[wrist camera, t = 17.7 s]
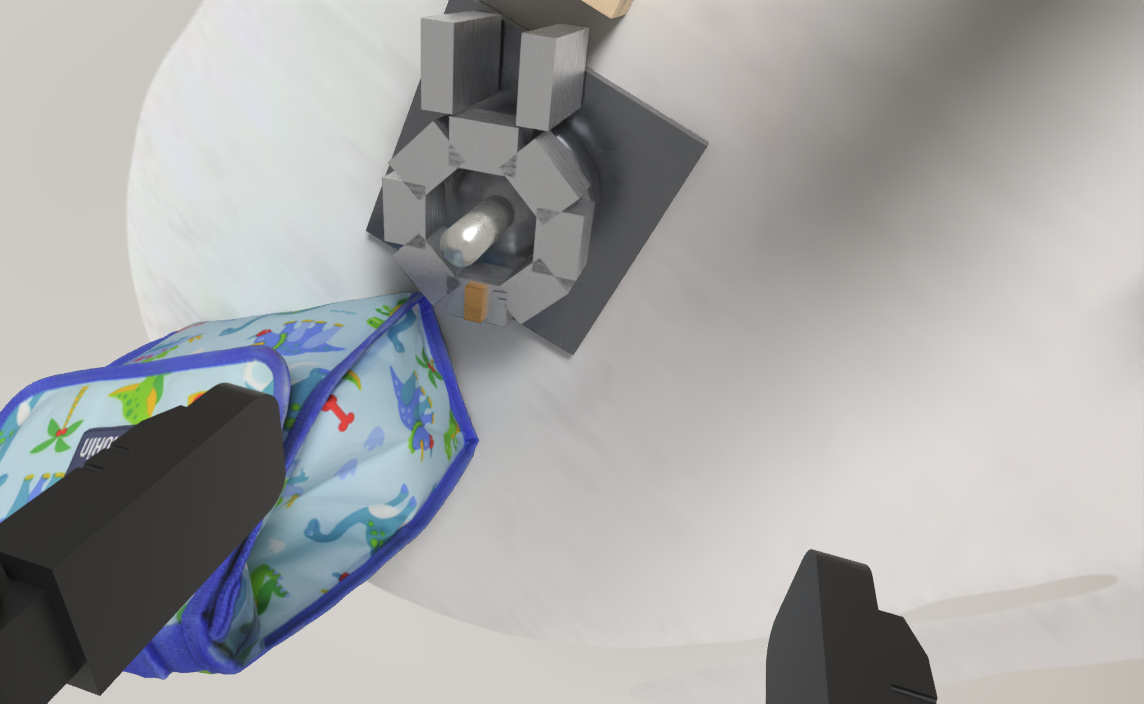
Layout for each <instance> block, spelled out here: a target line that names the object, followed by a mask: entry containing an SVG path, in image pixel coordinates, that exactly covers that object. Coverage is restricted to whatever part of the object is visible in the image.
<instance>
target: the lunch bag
mask: <svg viewBox="0 0 1144 704" xmlns="http://www.w3.org/2000/svg"><path fill="white" fill-rule="evenodd" d="M224 382H226V383H231V384H235V385H238V386H242V387H245V388H249V389H252V390H256V391H260V392H263V393H267V394H270V395H273V396H274V397H275V398H276V400H277V402H278V404H279V410H280V420H281V429H282V439H283V448H284V458H285V467H286V477H285V482H284V486H283V489H282V492H281V494H280V496H279V499H278V500H277V502H276V504H275V505H274V507H273V508H272V509H271V511H270V512H269V513H268V514H267V515H266V516H265V517H264V518H263V519H262V521H261V522H260V523H259V524H258V525H257V526H256V527H255V528H254V529H253V530H252V531H251V532H250V534H249V535H248V536H247V537H246V538H245V539H244V540H243V541H242V542H241V543H240V544H239V546H238V547H237V548H236V549H235V550H234V551H233V552H232V553H231V554H230V555H229V556H228V557H227V559H226V560H225V561H224V562H223V563H222V564H221V565H220V566H219V567H218V568H217V569H216V571H215V572H214V573H213V574H212V575H211V576H210V577H209V578H208V579H207V580H206V581H205V582H204V584H203V585H202V586H201V587H200V588H199V589H198V590H197V591H196V592H195V593H194V594H193V596H192V597H191V598H190V599H189V600H188V601H187V602H186V603H185V604H184V605H183V606H182V607H181V609H180V610H179V611H178V612H177V613H176V614H175V615H174V616H173V617H172V618H171V619H170V621H169V622H168V623H167V624H166V625H165V626H164V627H163V628H162V629H161V630H160V631H159V632H158V634H157V635H156V636H155V637H154V638H153V639H152V640H151V641H150V642H149V643H148V644H147V646H146V647H145V648H144V649H143V650H142V651H141V652H140V653H139V654H138V655H137V656H136V657H135V659H134V660H133V661H132V662H131V663H130V664H129V665H128V666H127V667H126V668H125V669H124V672H129V673H133V674H136V675H139V676H142V677H144V678H159V679H163V680H164V679H166V678H167V677H168V675H169V674H171V673H172V672H179V673H189V672H200V673H208V674H216V673H221V674H236V673H239V672H241V671H242V670H243V669H245V668H246V667H248V666H249V665H250V664H252V663H253V662H254V661H256V660H257V659H258V658H260V657H261V656H262V655H264V654H265V653H266V652H268V651H269V650H270V649H271V648H273V647H274V646H276V645H278V644H280V643H281V642H283V641H284V640H286V639H287V638H289V637H290V636H292V635H293V634H295V633H296V632H298V631H300V630H301V629H302V628H303V627H305V626H306V625H307V624H309V623H311V622H312V621H314V620H315V619H317V618H318V617H320V616H321V615H323V614H324V613H325V612H327V611H328V610H330V609H331V608H332V607H333V606H335V605H336V604H337V603H338V602H339V601H340V600H342V599H343V598H344V597H345V596H346V595H347V594H349V593H350V592H351V591H352V590H354V589H355V588H356V587H358V586H359V585H361V584H362V583H364V582H365V581H366V580H368V579H369V578H370V577H371V576H372V575H374V574H375V573H376V572H377V571H378V570H379V569H380V568H381V567H382V566H383V565H384V564H385V563H386V562H387V561H388V560H389V559H391V558H392V557H393V556H394V555H395V554H396V553H398V552H399V551H400V550H401V549H403V548H404V547H405V546H406V545H407V544H409V543H410V542H411V541H412V540H413V539H415V538H416V537H417V536H418V535H419V534H420V533H421V532H422V531H423V530H424V529H425V527H426V526H427V525H428V524H429V523H430V521H431V520H432V518H433V517H434V516H435V514H436V513H437V512H438V511H439V509H440V508H441V506H442V505H443V504H444V502H445V500H446V499H447V497H448V496H449V495H450V493H451V492H452V490H453V489H454V487H455V485H456V484H457V482H458V481H459V479H460V477H461V476H462V474H463V473H464V471H465V469H466V468H467V466H468V464H469V462H470V461H471V459H472V457H473V455H474V451H475V447H476V446H477V444H478V442H479V439H478V437H477V435H476V433H475V430H474V428H473V426H472V423H471V420H470V417H469V415H468V412H467V410H466V407H465V404H464V402H463V399H462V396H461V393H460V390H459V388H458V384H457V381H456V377H455V374H454V370H453V367H452V364H451V361H450V358H449V355H448V352H447V349H446V346H445V343H444V340H443V337H442V335H441V332H440V329H439V326H438V322H437V319H436V316H435V314H434V311H433V306H432V304H431V303H430V302H429V301H428V299H427V298H426V297H425V296H424V295H423V294H422V292H417V293H410V292H405V293H398V294H391V295H383V296H376V297H370V298H364V299H357V300H350V301H343V302H337V303H332V304H327V305H323V306H318V307H314V308H310V309H305V310H300V311H293V312H281V313H271V314H265V315H258V316H252V317H246V318H240V319H232V320H221V321H205V322H197V323H194V324H191V325H189V326H187V327H185V328H183V329H181V330H179V331H175V332H172V333H170V334H168V335H167V336H165V337H164V338H161V339H158V340H155V341H153V342H150V343H148V344H146V345H144V346H141V347H140V348H138V349H136V350H134V351H132V352H130V353H128V354H126V355H124V356H122V357H121V358H119V359H117V360H115V361H114V362H112V363H111V364H109V365H107V366H106V367H101V368H94V369H87V370H80V371H75V372H70V373H64V374H58V375H54V376H50V377H47V378H43V379H41V380H38V381H36V382H34V383H32V384H30V385H28V386H27V387H25V388H24V389H23V390H21V391H20V392H19V393H18V394H17V395H16V396H14V397H13V398H12V399H11V400H10V402H9V403H8V404H7V405H6V406H5V407H4V408H3V410H2V411H1V412H0V522H2V521H3V520H5V519H6V518H7V517H9V516H10V515H12V514H13V513H14V512H16V511H17V510H19V509H20V508H21V507H23V506H24V505H25V504H27V503H28V502H30V501H31V500H32V499H34V498H35V497H37V496H38V495H39V494H41V493H42V492H44V491H45V490H46V489H48V488H49V487H50V486H52V485H53V484H55V483H56V482H57V481H59V480H60V479H62V478H63V477H64V476H66V475H67V474H69V473H70V472H71V471H73V470H74V469H75V468H77V467H79V468H82V467H83V466H84V462H85V461H87V460H88V459H89V458H91V457H92V456H94V455H95V454H96V453H98V452H99V451H100V450H102V449H103V448H106V449H108V448H109V447H110V443H112V442H113V441H114V440H116V439H117V438H119V437H120V436H121V435H123V434H124V433H125V432H127V431H128V430H130V429H131V428H132V427H134V426H135V425H137V424H138V423H139V422H141V421H142V420H145V419H147V418H150V417H152V416H155V415H157V414H160V413H162V412H165V411H167V410H169V409H172V408H174V407H177V406H179V405H182V406H186V407H187V406H188V405H190V404H191V403H192V402H194V401H195V400H196V399H198V398H199V397H200V396H201V395H203V394H204V393H205V392H207V391H208V390H209V389H211V388H212V387H214V386H215V385H217V384H220V383H224Z"/></svg>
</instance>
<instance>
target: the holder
mask: <svg viewBox="0 0 1144 704" xmlns="http://www.w3.org/2000/svg"><path fill="white" fill-rule="evenodd" d="M582 1H583V2H585V3H586V4H588V5H590V6H591V7H593V8H594V9H596V10H598V11H599V12H601V13H602V14H604V15H606V16H607V17H609V18H610V19H612V18H616V17H619V16H622V15H625V14H626V13H627V11H628V9H629V7H630V5H631V3H632V1H633V0H582Z"/></svg>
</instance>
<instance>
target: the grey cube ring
mask: <svg viewBox="0 0 1144 704" xmlns="http://www.w3.org/2000/svg"><path fill="white" fill-rule="evenodd" d="M501 23H502V15H501V14H494V13H487V12H481V11H474V10H473V11H466V12H459V13H452V14H445V15H438V16H430V17H423V18H421V109H423V110H428V111H434V112H440V113H446V114H447V115H445V116H443V117H440V118H438V119H436V120H434V121H432V122H431V123H430V124H429V125H428V126H427V127H426V128H425V129H424V130H423V131H422V132H421V133H419V134H418V135H417V136H416V137H415V138H414V139H413V140H412V141H411V142H410V143H409V144H408V145H406V146H405V147H404V148H403V149H402V150H401V151H400V152H399V153H398V154H397V155H396V156H395V157H393V158H392V159H391V160H390V161H389V162H388V163H389V165H390V166H391V167H392V168H393V170H394V171H393V172H392V173H390V174H388V175H386V176H384V177H382V185H383V213H384V241H388V242H392V243H397V244H402V245H404V246H403V247H401V248H400V249H399V250H398V251H397V252H395V253H394V254H393V255H392V256H391V257H392V258H393V259H394V261H395V262H396V263H397V264H398V265H399V266H400V268H401V269H402V270H403V271H404V272H405V274H406V275H407V276H408V277H409V278H410V279H411V281H412V282H413V283H414V284H415V285H416V287H417V288H418V289H419V290H420V291H421V292H422V294H423V295H424V296H425V297H426V298H427V299H428V301H429V302H430V303H431V304H432V305H434V304H435V303H437V302H438V301H439V300H441V299H442V298H444V297H445V296H446V295H447V304H446V314H449V315H453V316H458V317H462V318H464V320H469V321H473V322H478V323H482V322H485V323H489V324H494V325H498V326H503V327H506V325H507V324H508V323H509V321H510V320H511V319H512V317H514V318H515V319H516V321H517V322H518V323H519V324H520V325H521V324H522V323H524V322H525V321H527V320H528V319H530V318H531V317H533V316H534V315H536V314H538V313H539V312H541V311H542V310H544V309H545V308H547V307H548V306H550V305H551V304H553V303H555V302H556V301H558V300H559V299H561V298H562V297H564V296H565V295H567V294H568V293H569V291H570V290H571V288H572V287H573V285H574V283H575V282H576V280H577V279H578V277H579V275H580V274H581V272H582V270H583V269H584V267H585V266H586V264H587V259H588V252H589V244H590V236H591V229H592V221H593V213H594V206H595V202H594V201H589V200H584V199H579V198H580V197H581V196H582V195H583V194H584V192H585V191H586V190H587V189H588V188H589V186H590V183H589V182H588V181H587V179H586V178H585V177H584V175H583V174H582V172H581V171H580V170H579V168H578V167H577V166H576V164H575V163H574V161H573V160H572V159H571V157H570V156H569V155H568V153H567V152H566V151H565V149H564V148H563V146H562V145H561V144H560V142H559V141H558V140H557V138H556V137H555V135H554V134H553V133H552V131H551V129H552V128H553V127H555V126H556V125H557V124H559V123H560V122H561V121H563V120H564V119H565V118H567V117H568V116H570V115H571V114H572V113H574V112H575V111H576V110H578V109H579V108H580V107H581V99H582V90H583V81H584V72H585V63H586V54H587V45H588V36H589V27H583V26H576V25H569V24H562V23H559V24H555V25H551V26H547V27H543V28H539V29H535V30H532V31H528V32H524V33H522V36H521V51H520V67H519V82H518V98H517V113H516V115H511V114H505V113H499V112H493V111H487V110H481V109H476V108H470V106H472V105H474V104H476V103H479V102H481V101H483V100H485V99H487V98H490V97H492V96H494V95H496V94H498V83H499V63H500V43H501ZM463 109H464V110H463ZM461 110H462V111H461ZM459 111H460V112H459ZM457 112H458V113H457ZM533 129H538V130H544V131H545V132H543V133H542V134H541V135H539V136H538V137H536V138H535V139H534V140H533V141H532V138H533ZM462 168H463V169H468V170H474V171H479V172H484V173H490V174H495V175H500V176H505V177H506V178H507V179H508V180H509V182H510V183H511V184H512V186H513V187H514V188H515V190H516V191H517V192H518V193H519V195H520V196H521V197H522V199H523V200H524V201H525V203H526V204H527V205H528V207H529V208H530V209H531V210H532V212H533V213H534V214H535V216H536V217H537V219H536V230H535V242H534V254H533V256H531V257H530V258H528V259H527V260H526V261H524V262H523V263H521V264H520V265H519V266H517V267H516V268H514V269H512V268H507V267H502V266H497V265H493V264H488V263H483V262H478V261H475V262H474V263H473V264H471V265H469V266H465V267H461V266H456V265H454V264H452V263H450V262H449V261H448V260H447V259H446V258H445V257H444V255H443V254H442V251H441V248H440V239H441V236H442V234H443V233H444V232H445V231H446V230H447V228H446V227H445V226H444V219H445V182H446V181H447V180H449V179H450V178H451V177H452V176H453V175H454V174H456V173H457V172H458V171H459V170H460V169H462Z"/></svg>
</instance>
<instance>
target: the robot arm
mask: <svg viewBox="0 0 1144 704" xmlns="http://www.w3.org/2000/svg"><path fill="white" fill-rule="evenodd" d="M285 477H286V467H285V458H284V448H283V439H282V429H281V420H280V410H279V404H278V402H277V400H276V398H275V397H274V396H273V395H270V394H267V393H263V392H260V391H256V390H252V389H249V388H245V387H242V386H238V385H235V384H231V383H226V382H224V383H220V384H217V385H215V386H214V387H212V388H211V389H209V390H208V391H207V392H205V393H204V394H203V395H201V396H200V397H199V398H198V399H196V400H195V401H194V402H192V403H191V404H190V405H188V406H187V407H186V406H182V405H179V406H177V407H174V408H172V409H169V410H167V411H165V412H162V413H160V414H157V415H155V416H152V417H150V418H147V419H145V420H142V421H141V422H139V423H138V424H137V425H135V426H134V427H132V428H131V429H130V430H128V431H127V432H125V433H124V434H123V435H121V436H120V437H119V438H117V439H116V440H114V441H113V442H112V443H110V447H109V448H108V449H106V448H103V449H102V450H100V451H99V452H98V453H96V454H95V455H94V456H92V457H91V458H89V459H88V460H87V461H85V462H84V466H83V467H82V468H79V467H77V468H75V469H74V470H73V471H71V472H70V473H69V474H67V475H66V476H64V477H63V478H62V479H60V480H59V481H57V482H56V483H55V484H53V485H52V486H50V487H49V488H48V489H46V490H45V491H44V492H42V493H41V494H39V495H38V496H37V497H35V498H34V499H32V500H31V501H30V502H28V503H27V504H25V505H24V506H23V507H21V508H20V509H19V510H17V511H16V512H14V513H13V514H12V515H10V516H9V517H7V518H6V519H5V520H3V521H2V522H0V704H48V702H49V701H50V700H51V699H52V698H53V697H54V696H55V695H56V694H57V693H58V692H59V691H60V690H61V689H62V688H63V687H64V685H66V684H69V685H72V686H75V687H78V688H80V689H83V690H86V691H88V692H91V693H94V694H97V695H99V696H101V694H102V693H103V692H104V691H105V690H106V689H107V688H108V687H109V686H110V685H111V684H112V682H113V681H114V680H115V679H116V678H117V677H118V676H119V675H120V674H121V672H123V671H124V669H125V668H126V667H127V666H128V665H129V664H130V663H131V662H132V661H133V660H134V659H135V657H136V656H137V655H138V654H139V653H140V652H141V651H142V650H143V649H144V648H145V647H146V646H147V644H148V643H149V642H150V641H151V640H152V639H153V638H154V637H155V636H156V635H157V634H158V632H159V631H160V630H161V629H162V628H163V627H164V626H165V625H166V624H167V623H168V622H169V621H170V619H171V618H172V617H173V616H174V615H175V614H176V613H177V612H178V611H179V610H180V609H181V607H182V606H183V605H184V604H185V603H186V602H187V601H188V600H189V599H190V598H191V597H192V596H193V594H194V593H195V592H196V591H197V590H198V589H199V588H200V587H201V586H202V585H203V584H204V582H205V581H206V580H207V579H208V578H209V577H210V576H211V575H212V574H213V573H214V572H215V571H216V569H217V568H218V567H219V566H220V565H221V564H222V563H223V562H224V561H225V560H226V559H227V557H228V556H229V555H230V554H231V553H232V552H233V551H234V550H235V549H236V548H237V547H238V546H239V544H240V543H241V542H242V541H243V540H244V539H245V538H246V537H247V536H248V535H249V534H250V532H251V531H252V530H253V529H254V528H255V527H256V526H257V525H258V524H259V523H260V522H261V521H262V519H263V518H264V517H265V516H266V515H267V514H268V513H269V512H270V511H271V509H272V508H273V507H274V505H275V504H276V502H277V500H278V499H279V496H280V494H281V492H282V489H283V486H284V482H285ZM936 701H937V694H936V689H935V685H934V681H933V676H932V672H931V668H930V664H929V659H928V656H927V654H926V653H925V651H924V650H923V648H922V646H921V645H920V643H919V642H918V640H917V638H916V637H915V635H914V634H913V632H912V630H911V629H910V627H909V626H908V624H907V623H906V621H905V619H904V618H903V617H901V616H898V615H894V614H891V613H887V612H884V611H880V610H878V605H877V599H876V594H875V588H874V582H873V576H872V572H871V570H870V568H869V567H868V566H867V565H866V564H862V563H859V562H855V561H852V560H848V559H844V558H841V557H837V556H834V555H830V554H827V553H823V552H820V551H816V550H813V549H810V550H808V552H807V553H806V554H805V556H804V558H803V559H802V562H801V564H800V566H799V568H798V570H797V573H796V575H795V577H794V579H793V581H792V583H791V586H790V588H789V590H788V592H787V594H786V596H785V599H784V601H783V603H782V605H781V607H780V609H779V612H778V614H777V616H776V618H775V621H774V624H773V627H772V630H771V634H770V639H769V643H768V649H767V658H766V704H936Z"/></svg>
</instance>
